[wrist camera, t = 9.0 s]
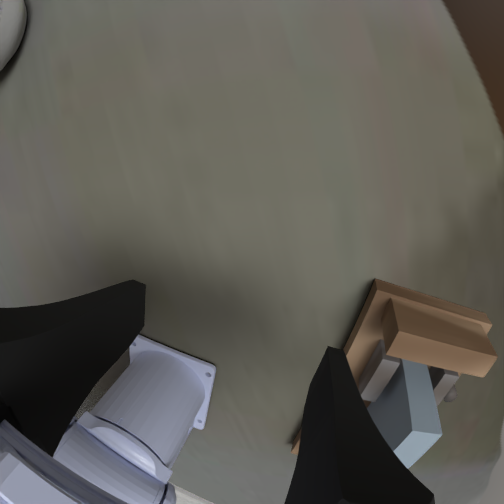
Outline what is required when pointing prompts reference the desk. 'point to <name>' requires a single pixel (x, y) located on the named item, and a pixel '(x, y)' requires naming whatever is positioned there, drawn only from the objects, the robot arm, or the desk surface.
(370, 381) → the knife switch board
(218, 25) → the desk surface
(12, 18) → the teacup
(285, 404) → the desk surface
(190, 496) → the molding
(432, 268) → the desk surface
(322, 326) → the desk surface
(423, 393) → the rectangular block
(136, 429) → the robot arm
